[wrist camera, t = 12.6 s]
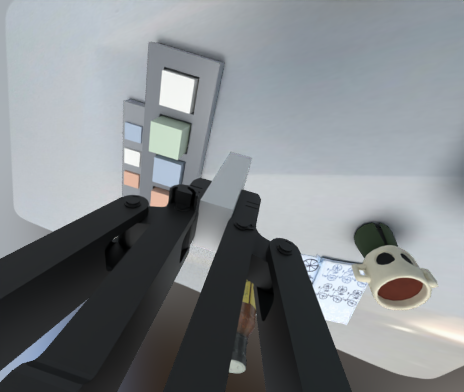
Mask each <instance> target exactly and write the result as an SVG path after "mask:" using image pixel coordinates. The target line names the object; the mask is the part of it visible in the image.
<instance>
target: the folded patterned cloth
mask: <svg viewBox="0 0 464 392" xmlns="http://www.w3.org/2000/svg"><path fill="white" fill-rule="evenodd" d="M301 256H302V259H303V261H304V264H305V267H306V269H307V272H308V275H309V278H310V280H312V281H313V284H312V286H313V288H314V291H315V294H316V296H317V299H318V302H319V305H320V307H321V310H322V313H323V315H324V318H325V320H328V321H333V322H337V323H342V324H345V325H347V324H348V322H349V320H350V318H351V316H352V314H353V312H354V310H355V308H356V306H357V304H358V302H359V300H360V298H361V296H362V294H363V292H364V290H365V288H366V286H367V285H368V283H367V282H359V281H357V280H356V279H355V276H354V273H353V270H352V265H353V264H354V263H348V262H342V261H336V260H331V259H326V258H320V256H318V255H317V257H314V256H309V255H303V254H301ZM359 271H360V274H361V275H365V274H364V272H363V271H362V270H359Z"/></svg>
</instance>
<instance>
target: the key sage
mask: <svg viewBox="0 0 464 392" xmlns="http://www.w3.org/2000/svg"><path fill="white" fill-rule="evenodd" d="M190 127H191V124H189V123H186V122H183V121H180V120H176V119H173V118H170V117H166V116H163V115H162V116H160V117H158V118H156V119H154V120H152V121H151V126H150V140H149V151H150V152H153V153H156V154H160V155H163V156H166V157H169V158H173V159H176V160H178V159H179V158H180V157H181V156H182V155H183V154H184V153H185V152H186V151H187V146H188V139H189V133H190Z"/></svg>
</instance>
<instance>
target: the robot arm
mask: <svg viewBox="0 0 464 392" xmlns="http://www.w3.org/2000/svg"><path fill="white" fill-rule="evenodd" d="M251 161H252V158H251V157H247V156H244V155H240V154H237V153H233V152H230V154H229V155H228V157H227V159H226V160H225V162H224V163H223V165H222V167H221V168H220V170H219V171H218V173H217V174H216V176H215V178H214V179H213V181H209V180H206V179H203V178H198V179H195V180H193V181H192V183H191V184H190V186H189V185H184V184H178V185H174V186H172V187H170V190H169V201H168V204H167V205H166V206H165V207H155V206H149V202H148V200H147V199H146V198H144V197H142V196H139V195H127V196H124V197H121V198H119V199H117V200H115V201H113V202H111V203H109V204H107V205H105V206H103V207H101V208H99V209H97V210H95V211H93V212H91V213H89V214H87V215H85V216H83V217H82V218H80V219H78V220H76V221H74V222H72V223H70V224H68V225H66V226H64V227H62V228H60V229H58V230H56V231H54V232H52V233H50V234H48V235H46V236H44V237H42V238H40V239H38V240H37V241H34V242H32V243H30V244H28V245H26V246H24V247H22V248H20V249H19V250H17V251H15V252H13V253H11V254H9V255H7V256H5V257H3V258H1V259H0V371H1V370H2V369H3V368H4V367H6V366H7V365H8V364H9V363H10V362H12V361H13V360H14V359H15V358H16V357H17V356H19V355H20V354H21V353H23V352H24V351H25V350H26V349H27V348H28V347H30V346H31V345H32V344H33V343H35V342H36V341H37V340H38V339H39V338H41V337H42V336H43V335H44V334H45V333H47V332H48V331H49V330H51V329H52V328H53V327H54V326H55V325H56V324H58V323H59V322H60V321H61V320H62V319H64V318H65V317H66V316H67V315H69V314H70V313H71V312H72V311H74V310H75V309H76V308H77V307H78V306H80V304H82V303H83V302H85V300H87V299H88V298H89V299H88V300H87V301H86V302H85V303H84V304H83V306H82V307H81V308H80V309H79V310H78V312H77V313H76V314H75V315H74V316H73V318H72V319H71V320H70V321H69V323H68V324H67V325H66V326H65V327H64V328H63V330H62V331H61V332H60V333H59V334H58V336H57V337H56V338H55V339H54V341H53V342H52V343H51V344H50V345H49V346H48V348H47V349H46V350H45V351H44V352H43V353H42V354H41V355H40V356H39V357H38V358H36V359H35V360H33V361H30V362H26V363H22V364H21V365H19V366H18V367H17V368H15V369H14V370H12V371H11V372H10V373H9V374H8V375H7V376H6V377H5V378H4V379H3V380H2V381H1V382H0V392H117V391H118V389H119V387H120V385H121V383H122V381H123V379H124V377H125V376H126V374H127V372H128V370H129V368H130V366H131V364H132V361H133V360H134V358H135V356H136V354H137V352H138V350H139V348H140V346H141V344H142V342H143V341H144V339H145V337H146V335H147V333H148V331H149V329H150V327H151V325H152V323H153V321H154V319H155V317H156V315H157V313H158V311H159V309H160V308H161V306H162V304H163V301H164V300H165V298H166V296H167V294H168V292H169V290H170V288H171V286H172V284H173V282H174V280H175V278H176V276H177V274H178V273H179V271H180V269H181V267H182V265H183V263H184V261H185V259H186V257H187V255H188V253H189V249H190V244H191V242H192V240H193V244H192V246H196V247H199V248H202V249H205V250H208V251H212V252H215V253H216V254H215V257H214V259H213V262H212V265H211V267H210V270H209V273H208V275H207V278H206V280H205V283H204V286H203V288H202V291H201V294H200V296H199V299H198V302H197V304H196V307H195V309H194V312H193V315H192V317H191V320H190V323H189V325H188V328H187V331H186V333H185V336H184V338H183V341H182V343H181V346H180V349H179V351H178V354H177V357H176V359H175V362H174V365H173V367H172V370H171V372H170V375H169V378H168V380H167V383H166V386H165V388H164V391H163V392H225V389H226V384H227V379H228V374H229V369H230V363H231V358H232V353H233V348H234V343H235V338H236V332H237V327H238V322H239V317H240V312H241V307H242V301H243V296H244V291H245V286H246V281H247V280H248V281H249V282H251V283H253V284H254V285H253V290H254V298H255V306H256V314H257V322H258V330H259V338H260V346H261V355H262V362H263V371H264V378H265V387H266V392H352V391H351V388H350V385H349V383H348V380H347V378H346V375H345V372H344V369H343V367H342V364H341V361H340V359H339V356H338V353H337V350H336V348H335V345H334V342H333V340H332V337H331V334H330V332H329V329H328V326H327V323H326V321H325V318H324V315H323V313H322V310H321V307H320V305H319V302H318V299H317V296H316V294H315V291H314V288H313V286H312V283H311V280H310V278H309V275H308V272H307V269H306V267H305V264H304V261H303V259H302V256H301V253H300V251H299V249H298V247H297V246H296V245H295V244H293V243H292V242H290V241H289V240H286V239H283V238H275V239H273V240H272V241H269V240H267V239H265V238H264V237H262V236H261V235H260V234H259V233H258V231H257V229H256V222H257V217H258V212H259V207H260V202H261V199H260V197H259V195H258V194H256V193H252V192H249V191H246V190H243V189H244V186H245V182H246V179H247V175H248V172H249V168H250V164H251ZM117 236H118V237H117ZM116 237H117V238H116ZM114 238H115V239H114Z"/></svg>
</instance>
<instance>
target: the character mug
mask: <svg viewBox="0 0 464 392" xmlns="http://www.w3.org/2000/svg"><path fill="white" fill-rule="evenodd" d="M379 224H380V226H381V228H382V229H381V228H376V226H375V225H374V223H370V224H366V225H363V226H362V227H361V228H359V229H358V230H357V232H356V234H355V236H354V240H355V244H356V246H357V248H358V249H359V251H360V252H361V254H362V255H363V257H364V258H365V259H364V260H363V264H353V265H352V270H353V273H354V276H355V279H356V280H357V281H359V282H367V283H368V284H369V287H370V289H371V292H372V294H373V296H374V298H375V300H376V301H377V303H378V304H380V305H381V306H383V307H385V308H387V309H392V310H409V309H413V308H417V307H418V306H420V305H422V304H424V303H426V301H427V300H428V299H429V298H430V297H431V291H432V289H431V288H436V287H438V284H437V281H436V280H435V278H434V277H433V275H432V274H431V273H430V271H429V270H427V269H424V268H420V267H419V266H418V264H417V263H416V261H415V260H414V258H413V257H412V256H411V255H410V254H409V253H408V252H406V251H405V250H403V249H401V248H399V247H398V245H397V242H396V240H395V238H394V235H393V233H392V232H391V230H390V229H389V227H388V226H386V225H384V224H382V223H379ZM359 270H362V271H363V272H364V274H365V275H361V274H360V271H359Z"/></svg>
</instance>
